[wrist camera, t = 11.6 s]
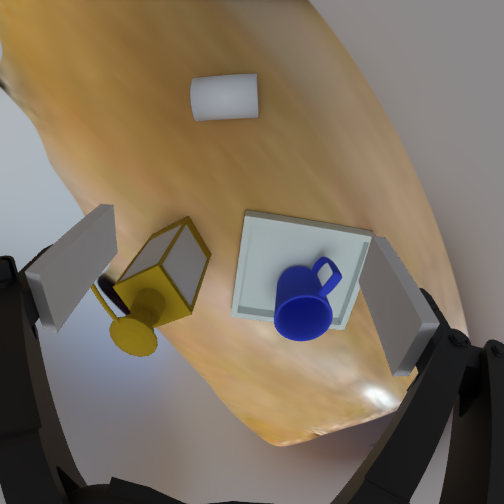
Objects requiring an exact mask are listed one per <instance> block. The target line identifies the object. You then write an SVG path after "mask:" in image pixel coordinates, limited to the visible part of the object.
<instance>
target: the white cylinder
mask: <svg viewBox="0 0 504 504" xmlns="http://www.w3.org/2000/svg"><path fill="white" fill-rule="evenodd" d="M190 99H191V108H192V113H193V117H194V119H195V121H208V120H222V119H239V118H258V86H257V73H252V74H233V75H219V76H208V77H198V78H193V79H192V82H191V89H190Z"/></svg>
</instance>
